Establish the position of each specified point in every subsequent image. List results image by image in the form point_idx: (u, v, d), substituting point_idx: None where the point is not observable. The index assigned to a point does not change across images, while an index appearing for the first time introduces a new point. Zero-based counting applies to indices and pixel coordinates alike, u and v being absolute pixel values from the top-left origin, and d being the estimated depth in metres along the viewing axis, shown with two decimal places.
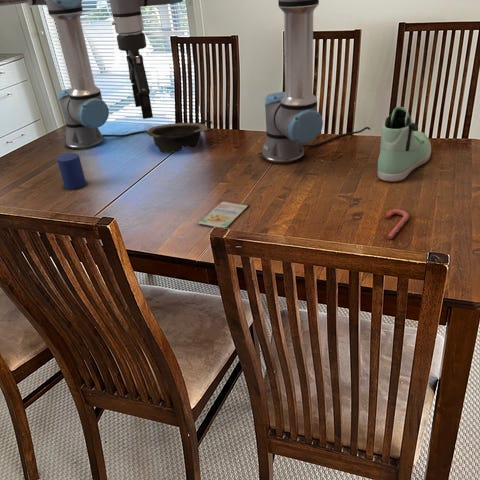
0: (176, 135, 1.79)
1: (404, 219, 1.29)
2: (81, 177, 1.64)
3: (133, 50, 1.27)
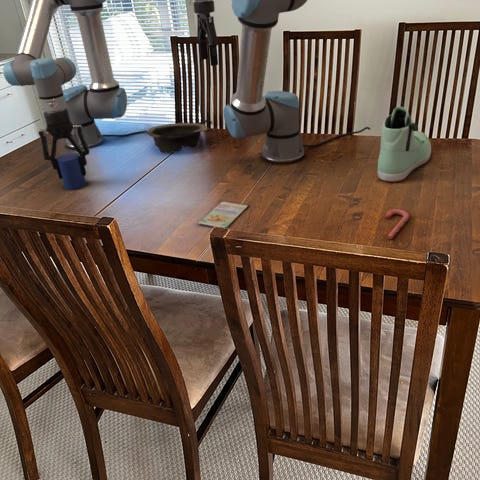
0: (176, 135, 1.79)
1: (404, 219, 1.29)
2: (81, 177, 1.64)
3: (206, 12, 1.71)
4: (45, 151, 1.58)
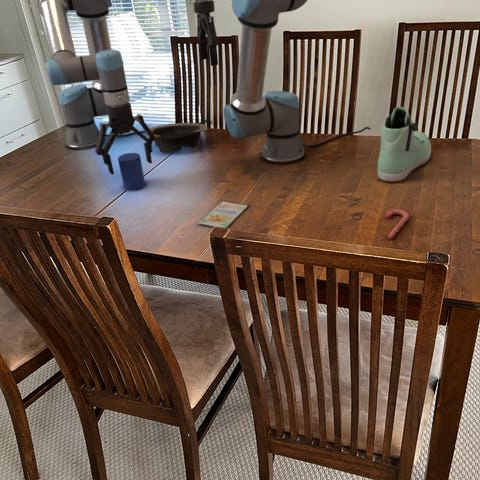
0: (176, 135, 1.79)
1: (404, 219, 1.29)
2: (143, 176, 1.61)
3: (206, 12, 1.71)
4: (101, 146, 1.50)
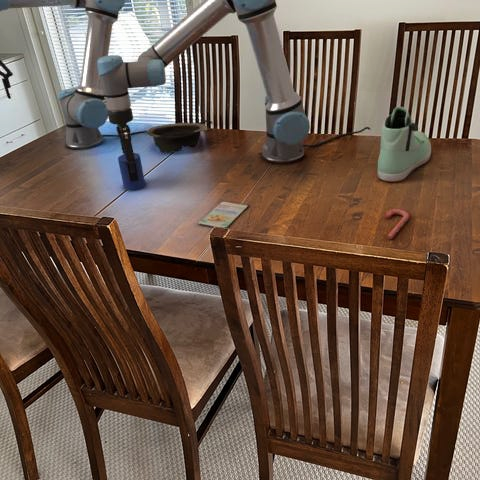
0: (176, 135, 1.79)
1: (404, 219, 1.29)
2: (143, 176, 1.61)
3: (121, 123, 1.48)
4: None
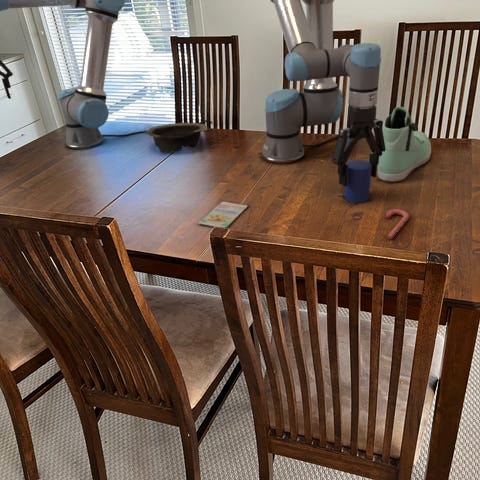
0: (176, 135, 1.79)
1: (404, 219, 1.29)
2: None
3: None
4: None
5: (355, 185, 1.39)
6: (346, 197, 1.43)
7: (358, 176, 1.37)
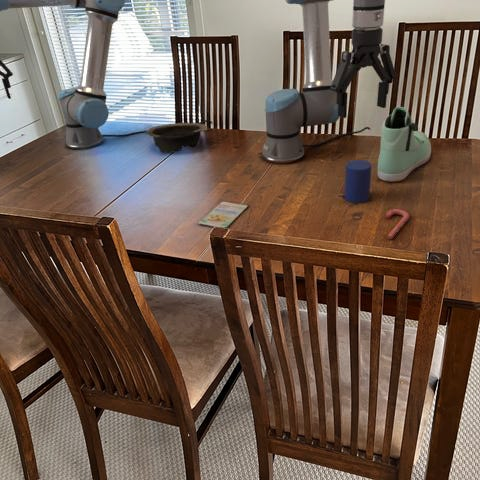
0: (176, 135, 1.79)
1: (404, 219, 1.29)
2: None
3: None
4: None
5: (355, 185, 1.39)
6: (346, 197, 1.43)
7: (358, 176, 1.37)
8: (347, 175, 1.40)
